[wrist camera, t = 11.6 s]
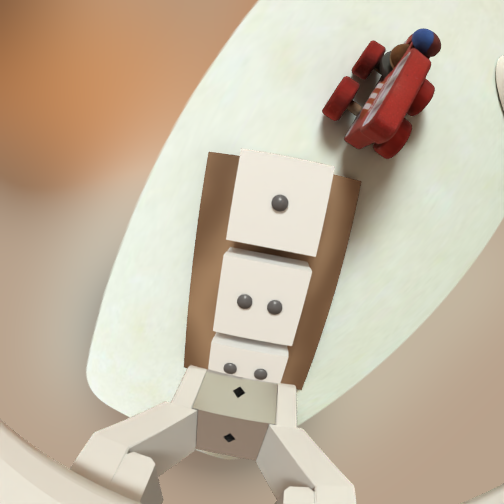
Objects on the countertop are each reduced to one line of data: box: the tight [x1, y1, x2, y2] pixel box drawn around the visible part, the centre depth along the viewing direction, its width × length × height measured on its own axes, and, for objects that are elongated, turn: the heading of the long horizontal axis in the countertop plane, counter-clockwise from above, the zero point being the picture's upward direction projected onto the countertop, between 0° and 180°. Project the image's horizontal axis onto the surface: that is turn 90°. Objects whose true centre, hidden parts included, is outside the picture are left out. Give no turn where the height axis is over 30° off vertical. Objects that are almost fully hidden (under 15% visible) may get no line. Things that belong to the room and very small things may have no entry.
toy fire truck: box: [322, 29, 441, 159], centre depth 16 cm, size 7×12×10 cm, turn 147°
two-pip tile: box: [213, 247, 312, 346], centre depth 23 cm, size 7×7×3 cm
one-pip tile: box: [226, 148, 335, 257], centre depth 21 cm, size 7×7×3 cm
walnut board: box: [184, 152, 361, 390], centre depth 25 cm, size 13×22×3 cm, turn 170°
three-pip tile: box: [208, 332, 289, 383], centre depth 25 cm, size 7×7×3 cm
